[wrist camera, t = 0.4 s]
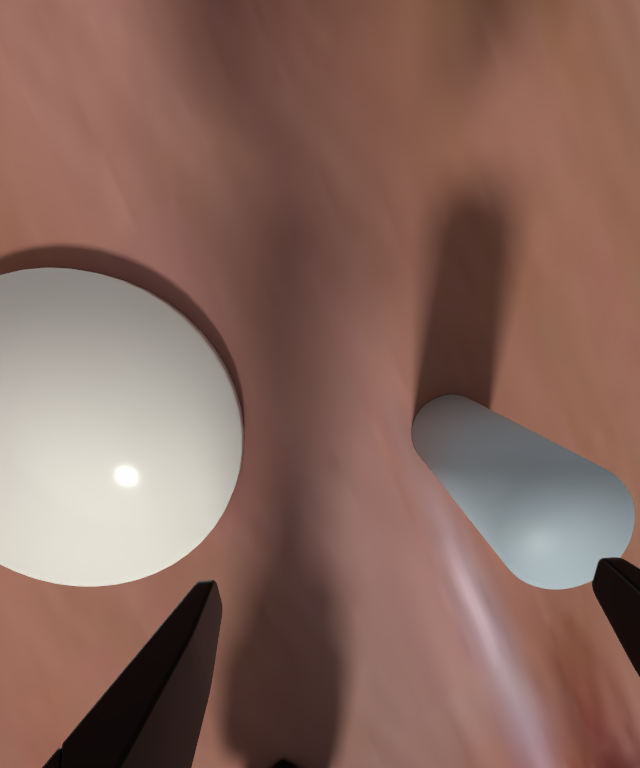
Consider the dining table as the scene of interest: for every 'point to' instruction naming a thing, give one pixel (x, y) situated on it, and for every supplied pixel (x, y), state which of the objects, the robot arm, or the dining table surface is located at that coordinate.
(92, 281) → the plate
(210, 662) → the robot arm
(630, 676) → the dining table surface
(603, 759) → the dining table surface
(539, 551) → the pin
